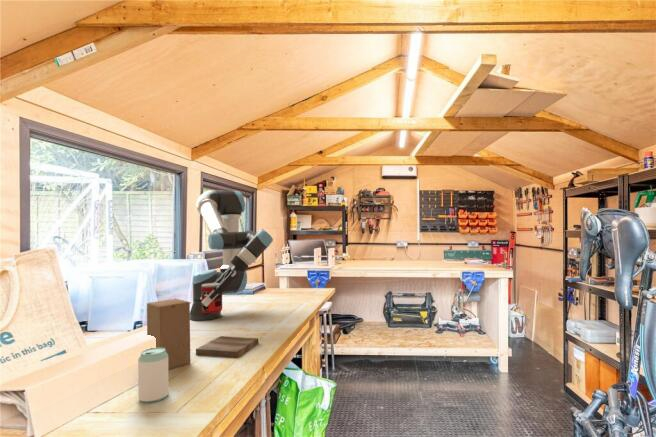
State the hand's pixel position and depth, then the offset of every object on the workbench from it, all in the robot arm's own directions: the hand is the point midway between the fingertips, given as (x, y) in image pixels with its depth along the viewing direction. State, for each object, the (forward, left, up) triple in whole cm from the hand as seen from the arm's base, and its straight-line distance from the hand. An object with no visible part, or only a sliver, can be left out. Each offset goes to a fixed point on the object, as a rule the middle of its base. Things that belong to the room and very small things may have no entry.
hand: (203, 302), depth 151 cm
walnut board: (+11, +18, -14) cm, 25 cm away
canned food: (-2, +3, -4) cm, 5 cm away
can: (+51, +20, -14) cm, 56 cm away
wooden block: (+29, +7, -14) cm, 33 cm away
